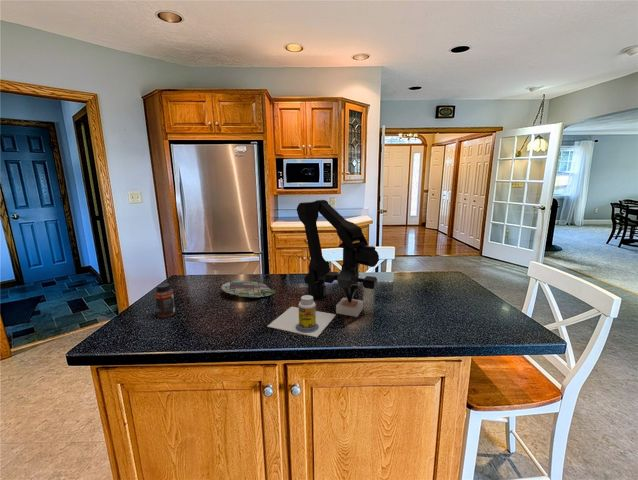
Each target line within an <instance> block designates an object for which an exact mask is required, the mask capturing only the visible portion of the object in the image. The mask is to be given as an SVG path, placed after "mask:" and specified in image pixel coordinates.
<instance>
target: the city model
mask: <svg viewBox="0 0 638 480" xmlns="http://www.w3.org/2000/svg"><path fill="white" fill-rule="evenodd" d="M220 288H221V290H222V291H223V292H225V293H226V294H228V295H229V296H238V297H245V298H261V297H268V296H271V295H275V293H276V290H275V289H272V288H270V287H269V286H268V285H266V284H264V283H261V282H260V280H258V281H248V280H245V281H244V280H234V281H229V282H225V284H224V283H223V284H222V285H221V286H220Z"/></svg>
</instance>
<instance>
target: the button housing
mask: <svg viewBox="0 0 638 480" xmlns="http://www.w3.org/2000/svg"><path fill="white" fill-rule="evenodd" d="M346 299H347V297H342V298H341V300H340V301H338V303H336V306H335V314H340V315H345V316H349V317H355V318H358V317H359V315H360V314H361V312H362V311H363V310H364V300H361V299H354V298H353V299H352V300H356V301H357V304H356V306H355V307H353V306H347V305H343V302H344V301H345V300H346Z"/></svg>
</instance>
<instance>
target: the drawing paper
mask: <svg viewBox="0 0 638 480" xmlns="http://www.w3.org/2000/svg"><path fill="white" fill-rule="evenodd" d="M336 316H337V313H330V312H324V311H319V310H316V325H315V327H314V328H313V329H310V330H304V329H301V328H300V327H299V307H298V306H297V307H296V306H290V307H289V308H288V309H287V310H285V311H284V312H283V313H282V314H281V315H279V316H278V317H276V318H275V319H274V320H272V322H270V323H269V324H268V325H267V328H271V329H272V328H273V329H277V330H280V331H281V330H282V331H285V332H290V333H295V334H298V335H304V336H309V337H312V338H318V337H319V336H320V335H321V333H322V332H324V330H325V329H326V328H327V326H328V325H329V324H330V323H331V321H333V319H334V318H335V317H336Z"/></svg>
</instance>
